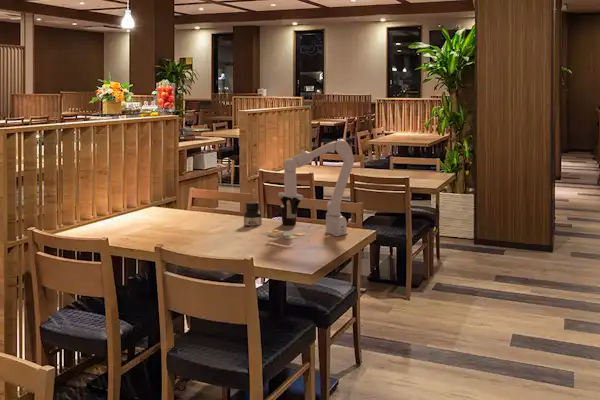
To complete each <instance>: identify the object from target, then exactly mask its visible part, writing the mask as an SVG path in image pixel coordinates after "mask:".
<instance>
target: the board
mask: <svg viewBox="0 0 600 400" xmlns="http://www.w3.org/2000/svg"><path fill="white" fill-rule="evenodd" d="M278 230H279V233H273V232H272V231H271V230H270V231H267V232H262V233H261V235H263V236H268V237H273V238H277V239H283V240H286V241H292V240H297V239H300V238H304V237H309V236H314V234H313V233H308V232H304V231H299V230H294V229H290V228H284V227H283V228H280V229H278Z"/></svg>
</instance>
